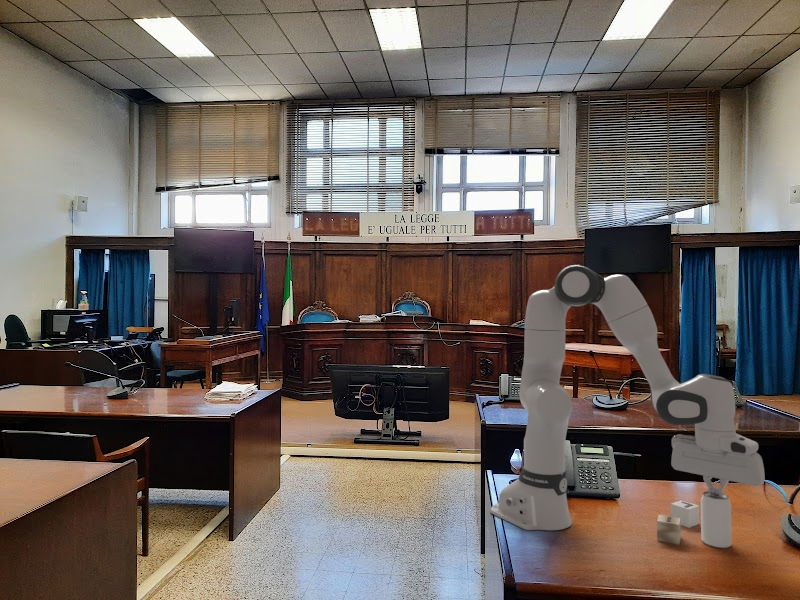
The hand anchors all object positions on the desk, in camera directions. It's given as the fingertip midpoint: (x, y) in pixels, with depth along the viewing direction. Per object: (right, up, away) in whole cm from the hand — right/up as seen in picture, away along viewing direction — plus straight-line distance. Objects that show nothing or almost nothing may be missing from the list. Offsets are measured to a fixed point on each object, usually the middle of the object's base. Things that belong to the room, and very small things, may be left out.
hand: (716, 495), depth 133 cm
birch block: (-11, -12, +2) cm, 16 cm away
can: (0, -12, 0) cm, 12 cm away
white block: (-1, -12, +13) cm, 18 cm away
